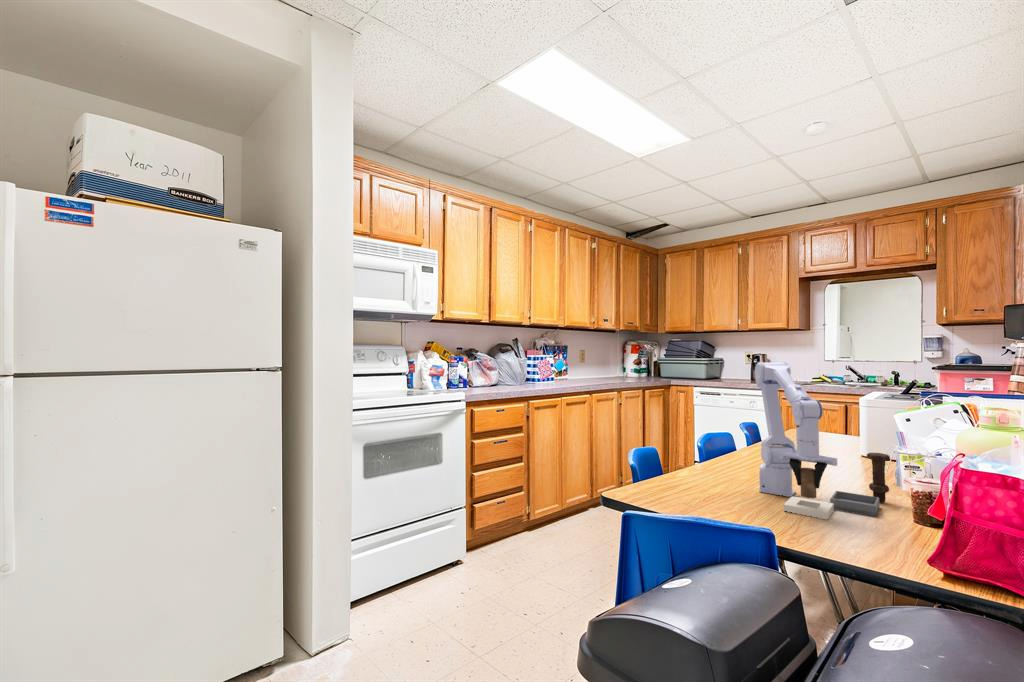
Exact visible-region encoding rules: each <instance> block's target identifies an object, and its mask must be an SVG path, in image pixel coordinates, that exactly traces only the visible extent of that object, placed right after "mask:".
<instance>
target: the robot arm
mask: <svg viewBox="0 0 1024 682" xmlns="http://www.w3.org/2000/svg"><path fill="white" fill-rule="evenodd" d="M791 371H792V370H791V367H790V365H789V363H788V362H786V361H783V362H775V361H774V362H762V361H758V362H757V363H756V365H755V366H754V379H755V384H756V387H757V388H759V389H760V390H761V396H762V401H763V403H762V404H763V407H764V415H765V421H766V426H767V427H766V428H767V432H768V433H767V434H768V437H766V438H765V439H764V440H763V441H762V442H761V446H760V447H761V450H760V455H761V459H762V463H761V464H760V467H759V491H758V492H761V493H764V494H771V495H777V496H782V495H783V497H788V498H791V497H792V496H793V495H794V494H795V493H796V492H797V491H796V490H795V489H793V475H794V476H795V480H796V483H797V486H799V487H801V482H800V468H802V462H807V463H815V464H814V469H815V475H816V480H815V488H816V489H819V488H820V486H821V480H822V477H823V474H824V473H825V470H826V469H827V466H828V465H829V466H834V467H837V466H838V458H837V457H831V456H825V455H820V435H819V434H820V432H819V430H820V429H819V420H820V419H822V417H823V413H824V409H823V406H822V403H821V402H820V400H819V399H815V398H811V396H809V394H808V393H807V391H806V390H805V389H804V387H802V385H799V384H796V383H795V381H794V379H793V378H792V376H791V374H792V373H791ZM780 389H783V390H784V393H783V395H784V397H785V398H786V401H787V402H788V403H789V404H790V406H791V407H792V408H791V413H792V417H793V423H794V425H795V429H796V433H795V434H796V437H795V438H796V439H795V441H796V445H795V443H794V441H793V440H792V439H790V438H789V437H787V436H786V432H785V428H784V426H785V425H784V421H783V416H782V410H781V405H780V404H781V403H780V398H779V392H778V391H779V390H780Z"/></svg>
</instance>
